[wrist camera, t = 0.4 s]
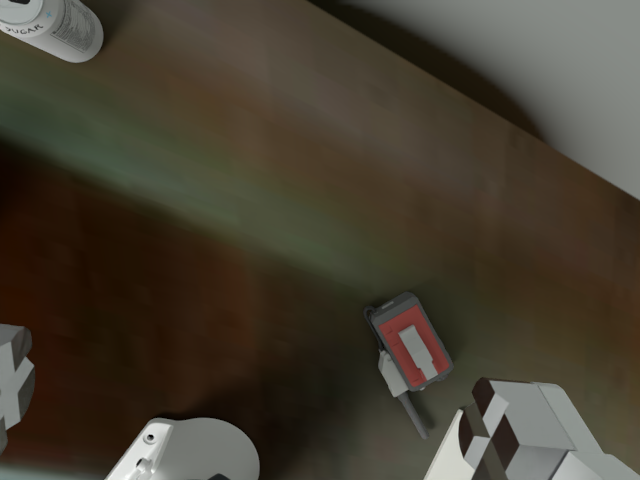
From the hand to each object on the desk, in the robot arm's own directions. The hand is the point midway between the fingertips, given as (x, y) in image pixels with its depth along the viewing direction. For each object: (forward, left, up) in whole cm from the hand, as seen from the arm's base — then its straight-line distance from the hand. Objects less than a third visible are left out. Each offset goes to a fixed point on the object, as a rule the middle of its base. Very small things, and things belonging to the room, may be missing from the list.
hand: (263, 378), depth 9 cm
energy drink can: (-4, +25, -53) cm, 58 cm away
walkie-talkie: (-1, -30, -53) cm, 61 cm away
